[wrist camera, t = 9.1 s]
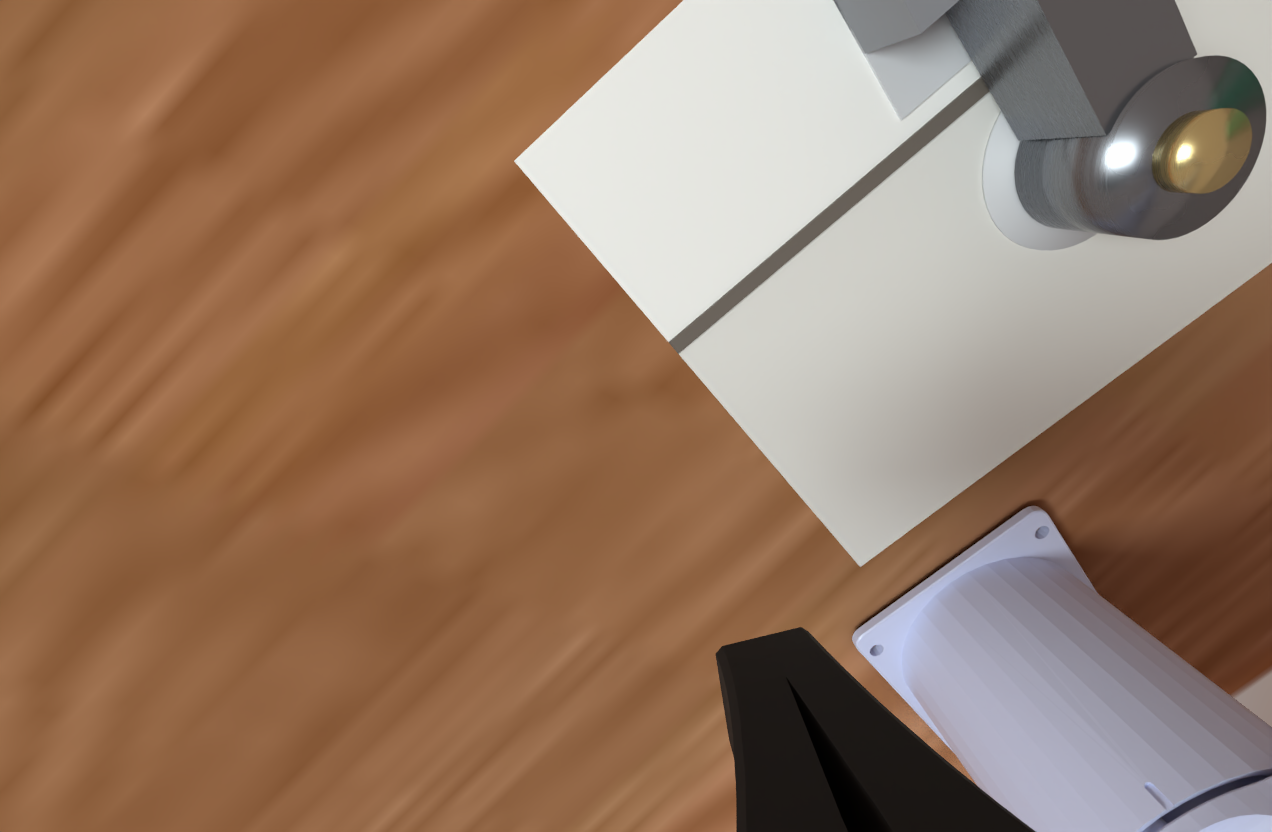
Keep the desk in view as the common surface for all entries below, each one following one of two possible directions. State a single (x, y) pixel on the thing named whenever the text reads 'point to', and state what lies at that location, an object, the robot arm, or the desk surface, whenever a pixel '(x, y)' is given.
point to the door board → (873, 243)
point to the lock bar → (1115, 112)
